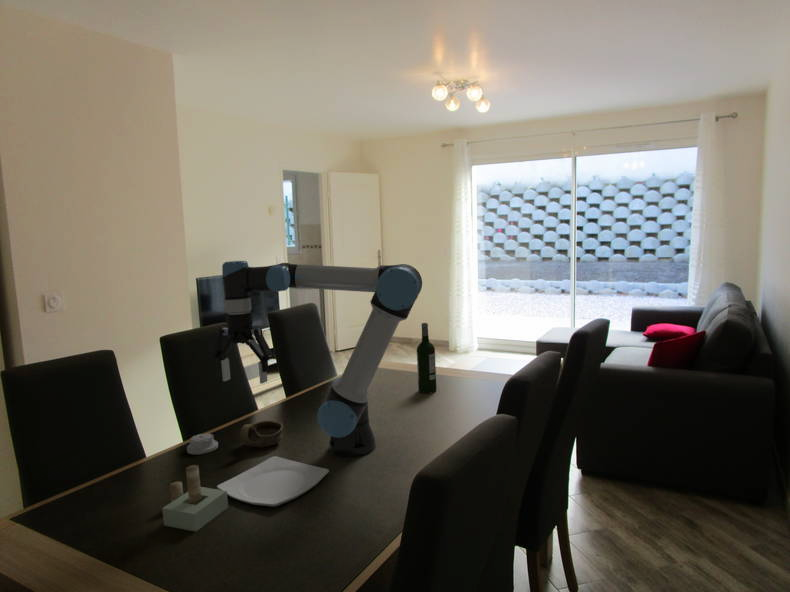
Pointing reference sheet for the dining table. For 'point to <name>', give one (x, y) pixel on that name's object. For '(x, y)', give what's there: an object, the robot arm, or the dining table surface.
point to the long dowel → (193, 484)
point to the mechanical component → (202, 444)
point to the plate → (273, 482)
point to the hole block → (195, 510)
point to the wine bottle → (426, 363)
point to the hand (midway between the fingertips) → (245, 381)
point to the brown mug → (262, 433)
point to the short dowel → (176, 490)
